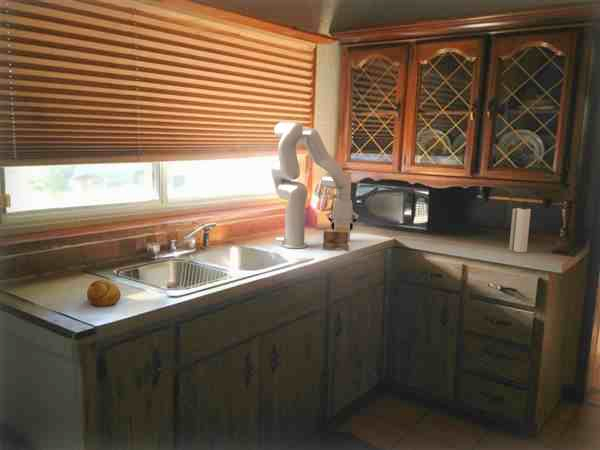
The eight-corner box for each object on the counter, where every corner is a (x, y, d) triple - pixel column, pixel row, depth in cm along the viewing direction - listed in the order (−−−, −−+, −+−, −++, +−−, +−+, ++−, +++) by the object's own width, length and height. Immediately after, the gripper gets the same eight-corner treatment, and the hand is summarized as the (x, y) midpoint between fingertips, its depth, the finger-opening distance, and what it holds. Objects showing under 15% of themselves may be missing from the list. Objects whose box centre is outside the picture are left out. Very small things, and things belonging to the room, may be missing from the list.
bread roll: (83, 298, 175) (82, 274, 174) (114, 294, 180) (113, 271, 179) (91, 310, 164) (89, 284, 163) (123, 305, 169) (122, 281, 168)
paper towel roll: (528, 251, 264) (532, 208, 261) (523, 253, 260) (527, 209, 256) (514, 249, 269) (518, 207, 266) (508, 251, 265) (512, 208, 261)
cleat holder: (322, 249, 257) (323, 235, 256) (323, 244, 269) (323, 231, 267) (347, 250, 256) (348, 236, 255) (347, 245, 268) (348, 232, 267)
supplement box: (349, 239, 283) (350, 215, 281) (349, 241, 278) (350, 216, 276) (333, 239, 284) (334, 214, 281) (333, 241, 279) (334, 216, 277)
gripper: (326, 197, 274) (325, 231, 277) (360, 198, 273) (358, 232, 276) (326, 196, 282) (325, 228, 285) (359, 197, 280) (358, 229, 283)
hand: (341, 230), depth 280 cm, fingers closed on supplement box, 8 cm apart
